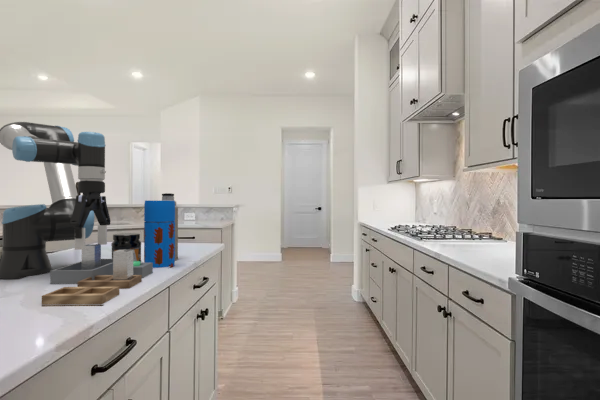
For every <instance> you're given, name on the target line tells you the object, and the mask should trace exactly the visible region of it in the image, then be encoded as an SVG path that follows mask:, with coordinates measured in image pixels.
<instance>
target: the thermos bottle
mask: <svg viewBox="0 0 600 400" xmlns="http://www.w3.org/2000/svg"><path fill="white" fill-rule="evenodd" d="M160 201H175V261H178V260H179V257H178V256H179V252H178V251H179V207H178V206H177V204H178V203H177V201H176V200H175V193H168V192H166V193H161V200H160ZM177 259H178V260H177Z"/></svg>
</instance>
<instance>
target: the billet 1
mask: <svg viewBox="0 0 600 400" xmlns="http://www.w3.org/2000/svg"><path fill="white" fill-rule="evenodd" d="M101 259H102V245H101V244H98V243H95V244H93V243H92V244H85V249H84V250H81V261H82V270H93V269H95V268H98V267H101Z"/></svg>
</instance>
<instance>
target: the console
mask: <svg viewBox="0 0 600 400" xmlns="http://www.w3.org/2000/svg"><path fill="white" fill-rule="evenodd" d="M153 273H154V271H153V263H144V262H141V263H140V266H133V275H142V279H144V278H145V277H148V276H149V275H151V274H153Z"/></svg>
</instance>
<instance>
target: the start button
mask: <svg viewBox="0 0 600 400" xmlns="http://www.w3.org/2000/svg"><path fill="white" fill-rule="evenodd" d="M133 266H140V261H133Z"/></svg>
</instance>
